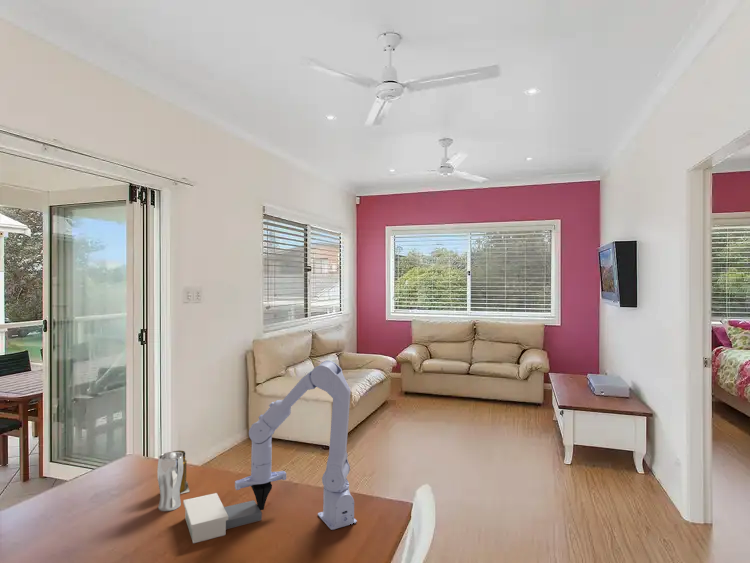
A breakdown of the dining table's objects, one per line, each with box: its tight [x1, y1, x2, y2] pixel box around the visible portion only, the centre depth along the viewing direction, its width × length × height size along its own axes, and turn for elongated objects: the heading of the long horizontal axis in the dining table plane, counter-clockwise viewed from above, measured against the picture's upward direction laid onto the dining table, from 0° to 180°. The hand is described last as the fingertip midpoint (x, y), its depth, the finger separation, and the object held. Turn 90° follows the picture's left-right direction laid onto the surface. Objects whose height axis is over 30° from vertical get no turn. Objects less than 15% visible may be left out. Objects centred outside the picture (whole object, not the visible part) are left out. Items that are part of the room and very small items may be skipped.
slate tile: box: [224, 499, 263, 530], centre depth 124 cm, size 8×14×2 cm, turn 121°
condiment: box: [172, 450, 190, 495], centre depth 142 cm, size 7×8×12 cm
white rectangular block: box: [182, 492, 228, 544], centre depth 120 cm, size 15×9×5 cm, turn 31°
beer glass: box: [156, 451, 183, 512], centre depth 131 cm, size 7×7×15 cm
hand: (260, 508), depth 128 cm, fingers closed
